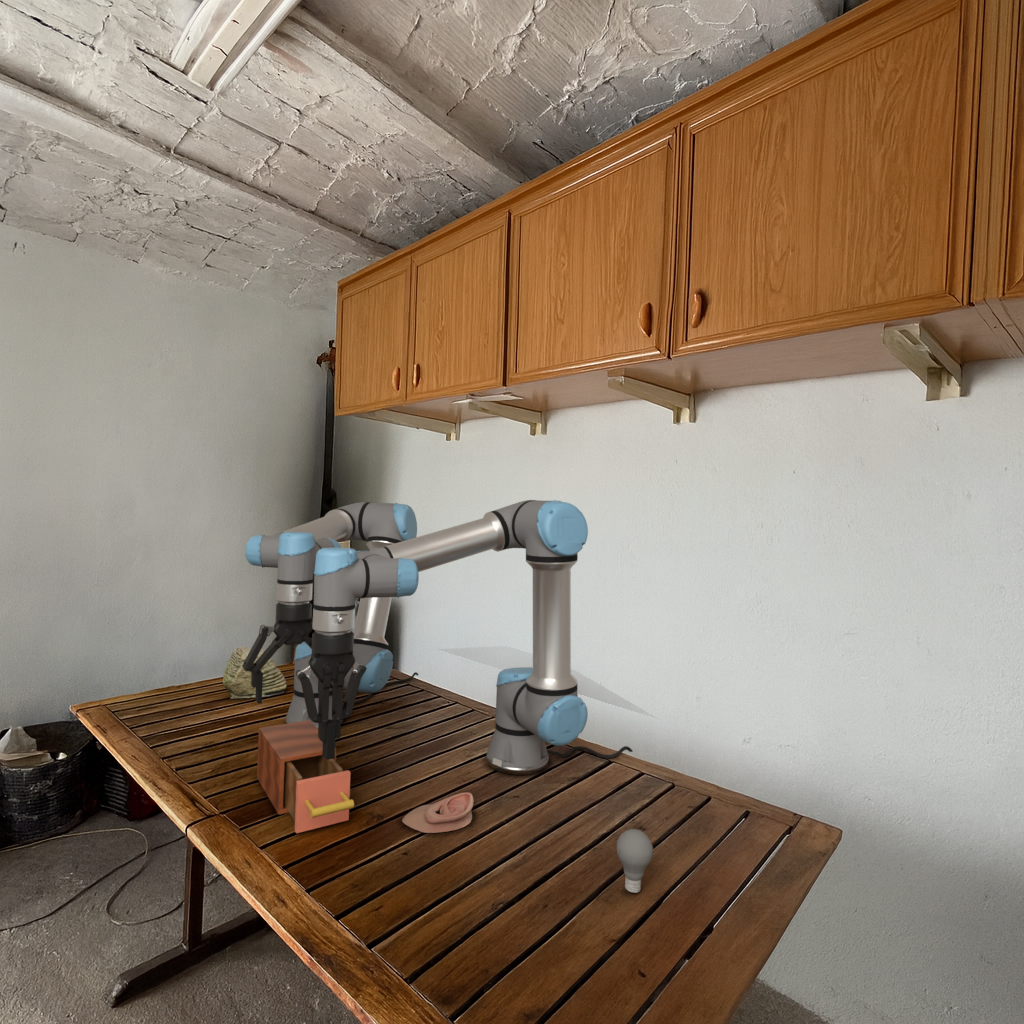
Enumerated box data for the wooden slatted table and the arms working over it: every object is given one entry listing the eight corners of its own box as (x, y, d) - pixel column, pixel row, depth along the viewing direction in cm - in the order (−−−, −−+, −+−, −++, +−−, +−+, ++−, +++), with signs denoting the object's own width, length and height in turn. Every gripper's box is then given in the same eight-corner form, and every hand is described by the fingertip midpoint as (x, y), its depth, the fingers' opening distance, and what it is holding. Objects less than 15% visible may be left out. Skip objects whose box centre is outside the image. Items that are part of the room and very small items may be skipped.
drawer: (359, 833, 118) (361, 783, 118) (304, 847, 113) (306, 795, 113) (320, 783, 138) (322, 741, 138) (272, 794, 132) (274, 749, 132)
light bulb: (610, 879, 108) (613, 822, 108) (644, 879, 109) (647, 822, 109) (619, 902, 102) (622, 840, 102) (655, 901, 103) (658, 840, 103)
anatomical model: (396, 808, 122) (417, 782, 133) (395, 828, 122) (416, 801, 133) (463, 818, 119) (478, 791, 130) (462, 839, 119) (477, 810, 131)
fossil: (218, 695, 195) (220, 647, 195) (278, 685, 208) (279, 640, 207) (228, 703, 189) (230, 653, 188) (289, 692, 201) (290, 645, 201)
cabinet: (334, 801, 132) (336, 748, 132) (278, 814, 126) (280, 758, 125) (307, 767, 148) (309, 720, 147) (257, 777, 141) (258, 727, 141)
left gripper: (237, 608, 130) (233, 710, 130) (354, 601, 144) (351, 694, 144) (230, 602, 136) (226, 700, 137) (343, 596, 150) (340, 685, 151)
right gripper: (303, 638, 111) (298, 771, 112) (374, 632, 118) (369, 757, 119) (292, 629, 117) (287, 755, 118) (359, 624, 125) (355, 743, 125)
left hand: (290, 697), depth 141 cm, fingers open, 13 cm apart
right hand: (328, 756), depth 118 cm, fingers closed
